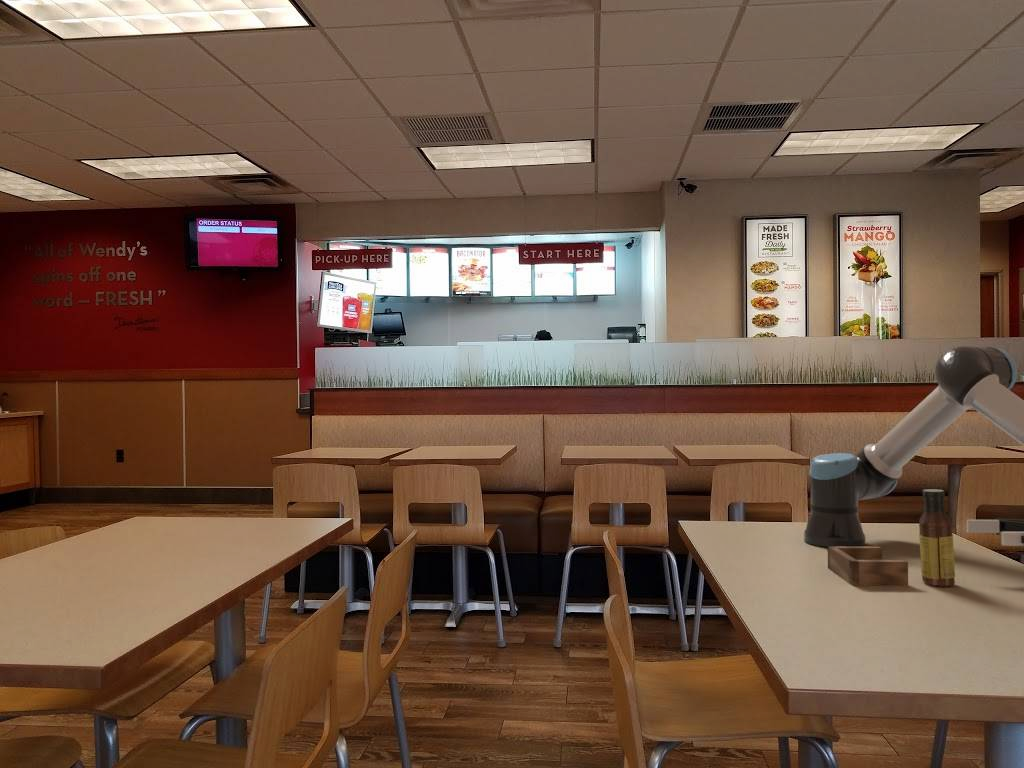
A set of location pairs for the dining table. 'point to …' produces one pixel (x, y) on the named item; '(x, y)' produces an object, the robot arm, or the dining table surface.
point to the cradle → (866, 566)
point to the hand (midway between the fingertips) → (983, 532)
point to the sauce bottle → (936, 541)
